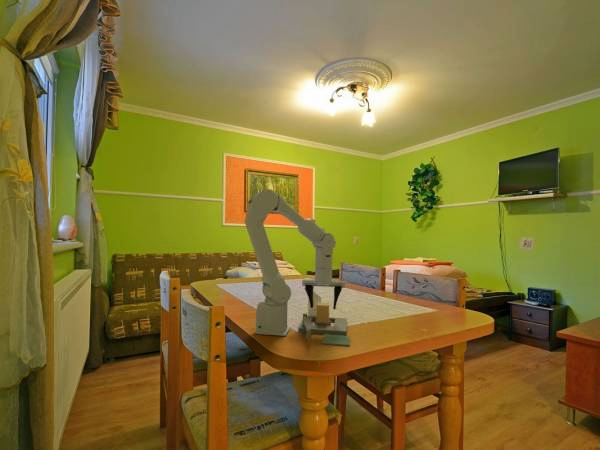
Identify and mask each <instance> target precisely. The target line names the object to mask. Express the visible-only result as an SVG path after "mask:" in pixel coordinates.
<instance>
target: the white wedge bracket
mask: <svg viewBox="0 0 600 450" xmlns="http://www.w3.org/2000/svg"><path fill="white" fill-rule="evenodd" d="M307 301H308V303H307V304H308V306H307V316H316V315H317V303H318V302H320V303H322V297H321V296H320V295H318V294H317V293H316V292H315V291H313V308H311V306H310V301H309V298H308V300H307Z"/></svg>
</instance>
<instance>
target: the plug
mask: <svg viewBox="0 0 600 450" xmlns="http://www.w3.org/2000/svg"><path fill="white" fill-rule="evenodd" d="M329 317H330V302H321V303H320V302H318V303H317V315H316V320H315V321H314V325H320V326H332V325H331V324H332V323H331V321H330V320H329Z"/></svg>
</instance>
